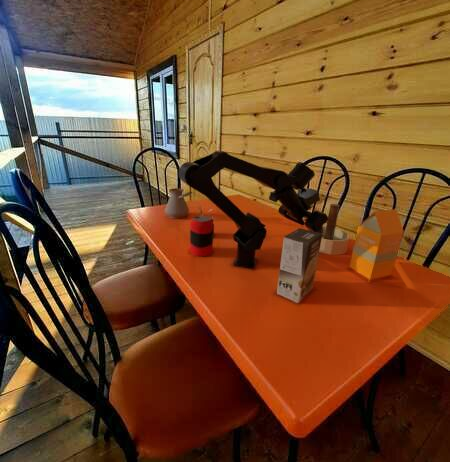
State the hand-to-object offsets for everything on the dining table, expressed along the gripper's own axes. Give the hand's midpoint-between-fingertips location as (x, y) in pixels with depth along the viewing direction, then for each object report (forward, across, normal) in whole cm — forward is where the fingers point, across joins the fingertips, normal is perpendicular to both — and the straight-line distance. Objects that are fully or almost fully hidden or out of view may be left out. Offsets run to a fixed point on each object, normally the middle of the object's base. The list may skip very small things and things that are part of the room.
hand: (312, 229), depth 88 cm
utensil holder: (-15, +25, +28) cm, 40 cm away
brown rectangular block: (+11, 0, -1) cm, 11 cm away
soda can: (-19, +12, +32) cm, 39 cm away
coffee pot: (-18, +47, +31) cm, 59 cm away
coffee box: (-8, -18, +20) cm, 29 cm away
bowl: (+11, 0, 0) cm, 11 cm away
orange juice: (+11, -18, +1) cm, 22 cm away
